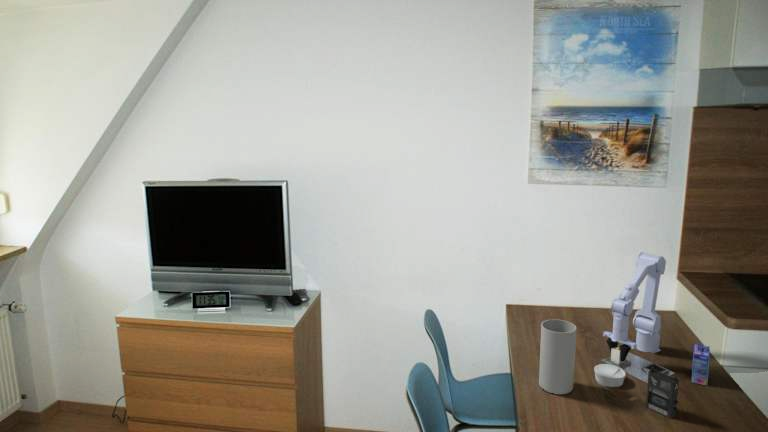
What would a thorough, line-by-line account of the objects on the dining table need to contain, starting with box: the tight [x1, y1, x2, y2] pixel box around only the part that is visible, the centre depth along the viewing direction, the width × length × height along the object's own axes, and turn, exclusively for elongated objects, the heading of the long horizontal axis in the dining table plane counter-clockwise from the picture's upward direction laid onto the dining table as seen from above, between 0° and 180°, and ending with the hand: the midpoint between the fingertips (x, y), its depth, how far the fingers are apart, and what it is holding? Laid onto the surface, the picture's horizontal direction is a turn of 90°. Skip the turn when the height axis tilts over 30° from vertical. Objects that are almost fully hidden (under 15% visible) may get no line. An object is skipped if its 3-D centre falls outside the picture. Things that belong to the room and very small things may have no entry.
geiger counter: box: [645, 367, 680, 419], centre depth 179 cm, size 10×4×15 cm, turn 35°
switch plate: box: [601, 351, 676, 384], centre depth 210 cm, size 16×22×2 cm
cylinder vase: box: [538, 318, 577, 395], centre depth 195 cm, size 12×12×25 cm
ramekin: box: [593, 363, 627, 389], centre depth 199 cm, size 11×11×5 cm
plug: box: [610, 345, 626, 365], centre depth 213 cm, size 4×4×7 cm
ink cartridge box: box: [691, 341, 711, 386], centre depth 200 cm, size 10×6×14 cm, turn 148°
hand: (618, 358), depth 213 cm, fingers closed on plug, 4 cm apart
